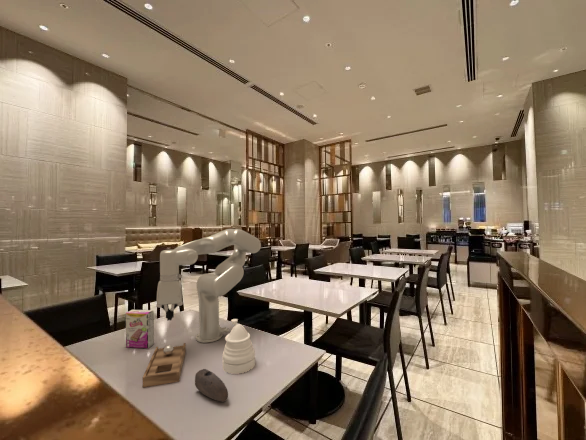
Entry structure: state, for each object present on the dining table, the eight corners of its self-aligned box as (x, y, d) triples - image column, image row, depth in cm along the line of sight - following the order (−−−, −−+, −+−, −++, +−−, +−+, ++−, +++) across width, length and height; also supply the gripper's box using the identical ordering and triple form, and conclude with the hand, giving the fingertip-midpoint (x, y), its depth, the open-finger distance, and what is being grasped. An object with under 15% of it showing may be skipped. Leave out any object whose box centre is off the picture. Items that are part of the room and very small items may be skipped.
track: (156, 354, 121) (156, 346, 121) (185, 350, 124) (185, 342, 124) (142, 387, 98) (142, 377, 98) (179, 381, 101) (178, 372, 101)
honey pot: (215, 369, 109) (214, 323, 109) (236, 354, 121) (235, 313, 120) (241, 377, 103) (240, 329, 103) (261, 361, 115) (260, 318, 114)
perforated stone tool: (233, 401, 90) (233, 380, 90) (220, 410, 86) (219, 388, 86) (206, 384, 100) (206, 365, 100) (193, 391, 96) (193, 371, 95)
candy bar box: (125, 348, 127) (124, 312, 127) (132, 343, 132) (131, 309, 132) (148, 349, 126) (147, 313, 126) (154, 344, 131) (154, 309, 131)
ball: (174, 351, 118) (174, 342, 118) (173, 356, 115) (172, 346, 114) (164, 353, 117) (164, 343, 117) (162, 357, 113) (162, 348, 113)
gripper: (188, 275, 128) (188, 314, 128) (152, 277, 124) (153, 318, 124) (186, 278, 120) (187, 320, 121) (148, 281, 116) (149, 324, 116)
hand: (169, 319), depth 122 cm, fingers closed
